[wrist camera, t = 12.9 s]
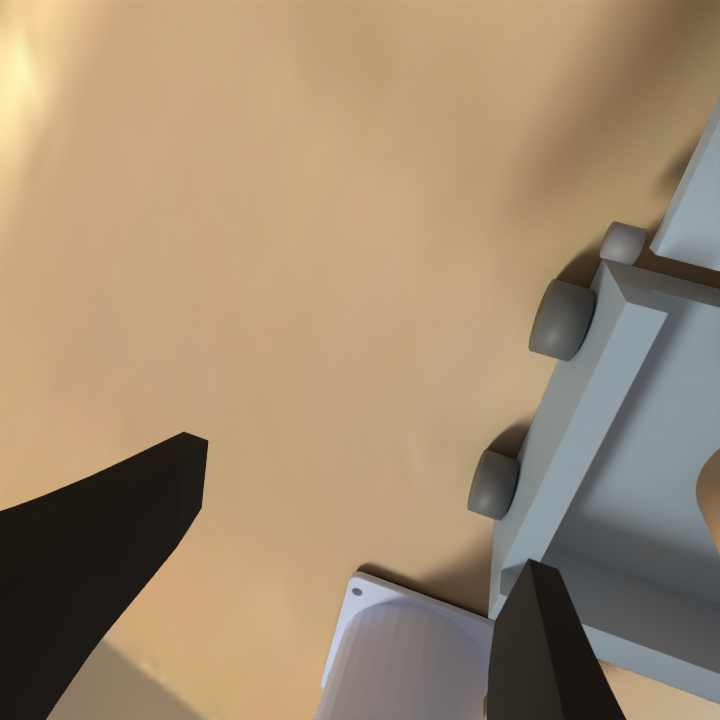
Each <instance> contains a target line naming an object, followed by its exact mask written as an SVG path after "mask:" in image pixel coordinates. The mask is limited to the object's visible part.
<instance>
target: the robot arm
mask: <svg viewBox="0 0 720 720" xmlns="http://www.w3.org/2000/svg"><path fill="white" fill-rule="evenodd" d="M207 450H208V440H205V439H203V438H200V437H197V436H194V435H192V434H189V433H186V432H182V433H180V434H178V435H176V436H174V437H171V438H169V439H167V440H165V441H163V442H161V443H159V444H157V445H155V446H153V447H151V448H149V449H147V450H145V451H143V452H140V453H138V454H136V455H134V456H132V457H130V458H128V459H126V460H124V461H122V462H120V463H117V464H115V465H113V466H111V467H109V468H107V469H104V470H102V471H100V472H98V473H96V474H94V475H91V476H89V477H87V478H85V479H82V480H80V481H77V482H75V483H73V484H70V485H68V486H65V487H63V488H61V489H58V490H56V491H53V492H51V493H49V494H46V495H44V496H41V497H39V498H36V499H33V500H31V501H28V502H25V503H22V504H20V505H17V506H14V507H11V508H8V509H5V510H2V511H0V720H46V719H47V717H48V716H49V714H50V713H51V711H52V709H53V708H54V706H55V705H56V703H57V702H58V700H59V699H60V697H61V696H62V694H63V693H64V692H65V690H66V689H67V687H68V686H69V684H70V683H71V681H72V680H73V678H74V677H75V675H76V674H77V673H78V671H79V670H80V668H81V667H82V665H83V664H84V662H85V661H86V659H87V658H88V657H89V655H90V654H91V652H92V651H93V650H94V648H95V647H96V646H97V644H98V643H99V642H100V640H101V639H102V638H103V637H104V635H105V634H106V633H107V631H108V630H109V629H110V628H111V627H112V625H113V624H114V623H115V622H116V621H117V619H118V618H119V617H120V616H121V614H122V613H123V612H124V611H125V610H126V608H127V607H128V606H129V605H130V604H131V602H132V601H133V600H134V599H135V598H136V596H137V595H138V594H139V593H140V591H141V590H142V589H143V588H144V587H145V585H146V584H147V583H148V582H149V581H150V579H151V578H152V577H153V576H154V575H155V573H156V572H157V571H158V570H159V568H160V567H161V566H162V565H163V563H164V562H165V561H166V560H167V559H168V557H169V556H170V555H171V554H172V552H173V551H174V550H175V549H176V547H177V546H178V544H179V543H180V541H181V540H182V538H183V537H184V535H185V534H186V532H187V531H188V529H189V527H190V526H191V524H192V523H193V521H194V519H195V518H196V516H197V515H198V513H199V511H200V510H201V508H202V498H203V489H204V479H205V469H206V460H207ZM357 588H359V589H357ZM321 687H322V689H323V693H322V696H321V699H320V702H319V705H318V708H317V710H316V713H315V716H314V719H313V720H483V707H484V698H485V696H486V694H487V692H488V698H487V720H626V718H625V716H624V714H623V712H622V710H621V708H620V706H619V704H618V702H617V700H616V698H615V696H614V694H613V692H612V690H611V688H610V686H609V684H608V681H607V679H606V677H605V675H604V673H603V671H602V669H601V666H600V664H599V662H598V660H597V658H596V656H595V654H594V651H593V649H592V647H591V645H590V642H589V640H588V638H587V636H586V633H585V631H584V628H583V626H582V624H581V621H580V619H579V617H578V614H577V612H576V610H575V607H574V605H573V602H572V600H571V597H570V595H569V593H568V590H567V588H566V585H565V583H564V580H563V578H562V576H561V573H560V571H559V569H557V568H554V567H551V566H549V565H546V564H543V563H541V562H538V561H535V560H532V559H530V558H528V560H527V562H526V564H525V565H524V567H523V569H522V571H521V573H520V575H519V577H518V579H517V581H516V582H515V584H514V586H513V588H512V590H511V592H510V594H509V596H508V597H507V599H506V601H505V603H504V605H503V607H502V609H501V611H500V613H499V614H498V616H497V618H496V620H495V621H493V620H490V619H487V618H484V617H482V616H479V615H476V614H474V613H471V612H468V611H466V610H463V609H460V608H458V607H455V606H452V605H450V604H447V603H444V602H442V601H439V600H436V599H434V598H431V597H428V596H425V595H423V594H420V593H417V592H415V591H412V590H409V589H407V588H404V587H401V586H399V585H396V584H393V583H391V582H388V581H385V580H383V579H380V578H377V577H375V576H372V575H369V574H366V573H364V572H360V571H359V572H354V573H353V574H352V575H351V578H350V581H349V584H348V588H347V591H346V595H345V599H344V602H343V606H342V609H341V613H340V616H339V620H338V624H337V627H336V631H335V634H334V638H333V641H332V645H331V649H330V652H329V656H328V659H327V663H326V666H325V670H324V674H323V677H322V681H321Z"/></svg>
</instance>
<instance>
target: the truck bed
mask: <svg viewBox="0 0 720 720" xmlns="http://www.w3.org/2000/svg"><path fill="white" fill-rule="evenodd" d="M645 238H646V229H643V228H639V227H635V226H631V225H627V224H623V223H619V222H615V221H614V222H613V223H612V224H611V225H610V227H609V229H608V230H607V232H606V235H605V237H604V240H603V242H602V245H601V249H600V257H601V258H602V260H601V263H600V265H599V267H598V270H597V272H596V274H595V277H594V279H593V281H592V284H591V286H590V288H585V287H581V286H578V285H574V284H570V283H567V282H563V281H559V280H556V279H553V280H552V281H551V282H550V284H549V286H548V287H547V289H546V291H545V294H544V296H543V298H542V301H541V303H540V306H539V308H538V311H537V314H536V317H535V320H534V324H533V327H532V331H531V335H530V340H529V350H530V351H533V352H536V353H540V354H543V355H547V356H550V357H553V358H557V359H559V360H558V363H557V365H556V367H555V370H554V372H553V374H552V377H551V379H550V381H549V384H548V386H547V388H546V391H545V393H544V395H543V398H542V400H541V402H540V405H539V407H538V409H537V412H536V414H535V416H534V419H533V421H532V423H531V426H530V428H529V430H528V433H527V435H526V437H525V440H524V442H523V444H522V447H521V449H520V451H519V454H518V456H517V458H516V459H514V458H511V457H508V456H505V455H502V454H498V453H495V452H492V451H489V450H486V449H485V450H484V452H483V454H482V456H481V458H480V460H479V463H478V466H477V468H476V471H475V475H474V478H473V481H472V485H471V489H470V493H469V498H468V506H467V508H468V510H470V511H473V512H475V513H478V514H481V515H484V516H487V517H490V518H493V519H494V532H493V548H492V564H491V580H490V595H489V611H488V618H489V619H492V620H496V618H497V616H498V614H499V613H500V611H501V609H502V607H503V605H504V603H505V601H506V599H507V597H508V596H509V594H510V592H511V590H512V588H513V586H514V584H515V582H516V581H517V579H518V577H519V575H520V573H521V571H522V569H523V567H524V565H525V564H526V562H527V560H528V558H530V559H532V560H535V561H538V562H541V563H543V564H546V565H549V566H551V567H554V568H557V569H559V571H560V573H561V576H562V578H563V580H564V583H565V585H566V588H567V590H568V593H569V595H570V597H571V600H572V602H573V605H574V607H575V610H576V612H577V614H578V617H579V619H580V621H581V624H582V626H583V628H584V631H585V633H586V636H587V638H588V640H589V642H590V645H591V647H592V649H593V651H594V654H595V656H596V658H597V659H599V660H602V661H605V662H608V663H610V664H613V665H616V666H618V667H621V668H624V669H626V670H629V671H632V672H634V673H637V674H640V675H642V676H645V677H648V678H650V679H653V680H656V681H659V682H661V683H664V684H667V685H669V686H672V687H675V688H677V689H680V690H683V691H685V692H688V693H691V694H693V695H696V696H699V697H701V698H704V699H707V700H710V701H712V702H715V703H718V704H720V555H719V552H718V550H717V548H716V545H715V543H714V541H713V539H712V536H711V534H710V532H709V529H708V527H707V525H706V523H705V520H704V518H703V516H702V513H701V511H700V509H699V506H698V503H697V499H696V483H697V479H698V476H699V473H700V472H701V470H702V468H703V466H704V465H705V463H706V462H707V460H708V459H709V458H710V457H711V456H712V455H713V454H714V453H715V452H716V451H717V450H718V449H720V289H718V288H714V287H711V286H707V285H703V284H699V283H695V282H692V281H688V280H684V279H680V278H676V277H673V276H669V275H665V274H661V273H657V272H654V271H650V270H646V269H642V268H638V267H635V266H631V265H632V264H633V263H634V262H635V261H636V260H637V258H638V256H639V254H640V252H641V250H642V248H643V245H644V242H645ZM619 262H620V263H619Z"/></svg>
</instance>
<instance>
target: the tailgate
mask: <svg viewBox="0 0 720 720" xmlns="http://www.w3.org/2000/svg"><path fill="white" fill-rule="evenodd" d="M649 248H650V249H651V250H652V251H653V253H654V254H655V255H658V256H662V257H666V258H670V259H674V260H678V261H682V262H686V263H689V264H693V265H697V266H701V267H705V268H709V269H713V270H716V271H720V98H719V100H718V102H717V104H716V106H715V108H714V110H713V113H712V115H711V117H710V119H709V121H708V123H707V125H706V128H705V130H704V132H703V134H702V136H701V138H700V140H699V143H698V145H697V147H696V149H695V151H694V153H693V155H692V157H691V160H690V162H689V164H688V166H687V168H686V170H685V172H684V175H683V177H682V179H681V181H680V183H679V185H678V187H677V190H676V192H675V194H674V196H673V198H672V200H671V202H670V204H669V207H668V209H667V211H666V213H665V215H664V217H663V219H662V222H661V224H660V226H659V228H658V230H657V232H656V234H655V237H654V239H653V241H652V243H651V245H650V247H649Z"/></svg>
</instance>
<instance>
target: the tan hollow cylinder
mask: <svg viewBox="0 0 720 720" xmlns="http://www.w3.org/2000/svg"><path fill="white" fill-rule="evenodd" d="M696 499H697V503H698V506H699V509H700V511H701V513H702V516H703V518H704V520H705V523H706V525H707V527H708V529H709V532H710V534H711V536H712V539H713V541H714V543H715V545H716V548H717V550H718V552H719V555H720V449H718V450H717V451H716V452H715V453H714V454H713V455H712V456H711V457H710V458H709V459H708V460H707V462H706V463H705V465H704V466H703V468H702V470H701V472H700V473H699V476H698V479H697V483H696Z"/></svg>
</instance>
